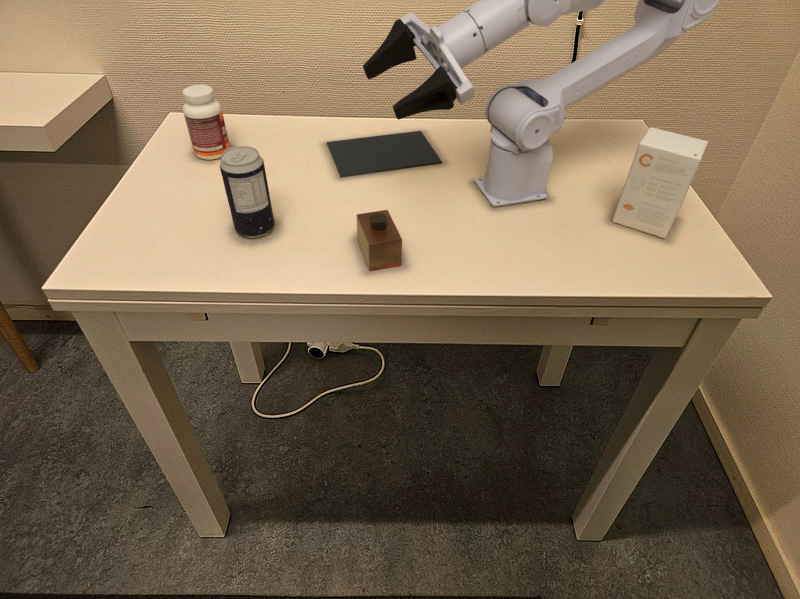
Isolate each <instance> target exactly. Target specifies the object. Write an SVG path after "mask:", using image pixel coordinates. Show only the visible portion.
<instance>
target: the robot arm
mask: <svg viewBox="0 0 800 599" xmlns="http://www.w3.org/2000/svg"><path fill="white" fill-rule="evenodd" d="M605 1H606V0H477V1H476V2H474V3H473V4H471V5H470V6H468V7H467V8H465V9H463V10H461V11H460V12H459V13H456V15H453V17H451V18H449V19H448V20H446V21H445V22H443V23H442V24H440V25H438V26H437V25H435V24H434V25H433V26H430V25H428V24H427V23H425V22H423V21H422V20H421V19H420V18H418V17H417V16H416V15H415V14H414V13H413V11H410V12H409V13H407V14H406V15H404V16H402V17H401V18H398V19H396V20H395V21H394V22H393V25H392V26H391V29H390V30H389V32H388V34H387V36H386V37H385V39H384V41H383V42H382V43H381V44H380V45H379V47H378V48H377V50H376V51H375V52H374V53H373V54H372V55H371V56H370V57H369V58H368V60H366V62H364V64H363V65H362V69H363V71H364V74H365V77H366V78H367V80H373V79H374V78H377V77H379V76H380V75H382V74H384V73H385V72H387V71H389V70H390V69H393V68H394V67H396V66H399V65H402V64H405V63H407V62H414V61H416V60H417V54H416V49H415V47H416V48H417V49H418V50H419V51H420V53H421V54H422V55H423V57H424V58H425V59H426V60H427V61H428V63H429V64H430V65H431V66H432V68H433V69H434V72H432V74H431V75H430V76H429V77H428V78H427V79H426V80H425V81H424V82H422V84H420V85H419V86H418V87H417V88H416V89H414V90H412V91H411V92H410V93H408V94H407V95H405V96H403V97H402V98H401V99H399V100H398V101H397V102H396V103H394V104H393V105H392V109H393V112H394V115H395V118H396V119H397V120H398V121H399V120H402V119H405V118H408V117H410V116H414V115H417V114H422V113H427V112H431V111H450V110H452V109H453V108H454V107H455V104H454V103H455V101H456V100H457V101H458V103H459V104H460V105H461V106H462V105H464V104H466V103H467V102H469V101H470V100H472V99H473V98H474V97H475V90H474V89H475V88H474V85H473V83H472V82H471V81H470V80H469V79H468V77H467V76H466V74H465V72H464V71H463V69H464V68H465V67H467V66H468V65H470V64H472V63H474V62H475V61H476V60H478V59H479V58H481V57H483V56H485V55H486V54H487V53H489V52H491V51H492V50H493V49H495V48H497V47H498V46H500V45H502V44H503V43H504V42H506V41H508V40H509V39H511V38H513V37H515V36H516V35H517V34H519V33H520V32H523V31H524V30H525V29H526V28H528V27H530V26H531V24H532V25H534V26H535V25H536V26H538V27H546V28H547V27H550V26H551V25H553V24H554V23H555V22H556V21H557V20H559V18H560V17H561V16H564V15H570V14H574V13H580V12H584V11H585V12H586V11H590V10H595V9H598V8H600V7H601V6H602V5H603V4H604V2H605ZM721 1H722V0H637V3H636V7H635V11H634V15H633V19H634V22H635V24H634V26H632V27H630V28H628V29H626V30H625V31H623V32H622V33H620V34H619V35H617V36H615V37H613V38H611V39H609V40H608V41H607V42H605V43H603V44H602V45H600V46H598V47H596V48H595V49H593V50H591V51H590V52H588V53H586V54H584V55H582V56H580V58H578V59H576V60H575V61H572V62H571V63H569V64H568V65H566V66H565V67H563V68H561V69H559V70H558V71H555V72H554V73H552V74H551V75H549V76H548V77H546V78H532V79H531V78H529V79H523V80H521V81H519V82H517V83H515V84H507V85H502V86H501V87H498V88H497V89H496V90H495V91H494V92H493V93H492V94H491V95H490V96H489V98H488V100H487V102H486V105H485V109H484V110H485V111H484V112H485V113H484V115H485V118H486V121H487V122H488V123H489V124H490V130H489V132H490V142H489V148H488V156H487V163H486V170H485V176H484V177H479V178H478V177H477V178H475V179H474V184H475V185H476V186H477V187H478V189H479V190H480V192H481V193H482V194H483V195H484V197H485V198H486V200H487V201H488V202H489V204H490V205H491V206H492V207H494V208H498V207H503V206H504V207H505V206H509V205H515V204H523V203H529V202H534V201H541V200H546V199H548V195H547V194H546V190H547V186H548V181H549V178H550V173H551V169H552V166H553V160H554V152H553V150H554V149H553V146H552V143H551V141H550V138H551V137H552V136H554V134H556V133H557V132H558V131H560V130H562V129H563V126H564V123H565V117H566V116H565V114H566V111H568V110H570V109H571V108H573V107H574V106H576V105H577V104H580V103H582V102H583V101H584V100H587V99H588V98H590V97H592V96H593V95H595V94H596V93H598V92H600V91H602V90H603V89H605V88H607V87H608V86H610V85H612V84H613V83H615V82H617V81H618V80H620V79H622V78H623V77H625V76H626V75H628V74H630V73H632V72H634V71H635V70H637V69H638V68H640V67H642V66H644V65H645V64H647V63H649V62H650V61H652V60H654V59H656V58H657V57H659V56H661V55H663V53H665V51H667V50H668V49H669V48H670V47H671V46H672V45H673V44H674V43H676V41H678V40H679V39H680V38H681V37H682V36H683V35H684V34H686V33H687V32H689V31H691V30H692V29H694V28H696V27H697V26H700V25H701V24H702V23H704V22H705V21H707V20H709V19H711V18H712V17H713V15H714V13H715V11H716V10H717V8H718V6H719V4H720V3H721Z"/></svg>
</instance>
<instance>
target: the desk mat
mask: <svg viewBox="0 0 800 599" xmlns="http://www.w3.org/2000/svg"><path fill="white" fill-rule="evenodd" d="M326 145H327V148H328V150H329V153H330V155H331V158H332V160H333V163H334V165H335V167H336V170H337V172H338V175H339V177H340V178H345V177H353V176H361V175H362V176H363V175H369V174H376V173H381V172H382V173H383V172H391V171H397V170H405V169H412V168H420V167H428V166H434V165H441V164H443V161H442V159H441V158H440V156H439V154H438V153H437V152H436V150H435V149H434V148H433V146H432V145H431V143H430V142H429V141H428V139H427V138H426V136H425V135H424V133H423V131H421V130H417V131H416V130H415V131H407V132H398V133H389V134H381V135H374V136H366V137H357V138H350V139H349V138H348V139H341V140H332V141H326Z"/></svg>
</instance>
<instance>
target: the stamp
mask: <svg viewBox="0 0 800 599" xmlns="http://www.w3.org/2000/svg"><path fill="white" fill-rule="evenodd" d="M355 217H356V235H357V243H358V245H359V248H360V251H361V253H362V256H363V259H364V261H365V263H366V266H367V269H368V271H369V272H374V271H378V270H384V269H385V270H386V269H389V268H397V267H400V266H402V255H403V254H402V251H403V249H402V248H403V237H402V236H401V234H400V232H399V229H398V228H397V226H396V224H395V222H394V220H393V217H392V216H391V213H390V212H389V209H381V210H377V211H369V212H363V213H357V214H356V216H355Z"/></svg>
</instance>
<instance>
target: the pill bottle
mask: <svg viewBox="0 0 800 599" xmlns="http://www.w3.org/2000/svg"><path fill="white" fill-rule="evenodd" d="M182 96H183V99H184V101H185V103H184V105H183V106H182V112H183V113H182V114H183V116H184V120H185V124H186V127H187V132H188V135H189V139H190V142H191V146H192V149H193V153H194V154H195V156H196V157H197V158H199V159H202V160H207V161H208V160H209V161H211V160H212V161H213V160H217V159H221V155H222V153H223V152H224V151H226V150H227V149H230V148H231V145H230V140H229V135H228V132H227V127H226V122H225V117H224V113H223V107H222V105H221V103H220V101H218V100H216V99H215V93H214V88H212V86H210V85H207V84H194V85H190V86H187V87H185V88H184V89H183V90H182Z"/></svg>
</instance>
